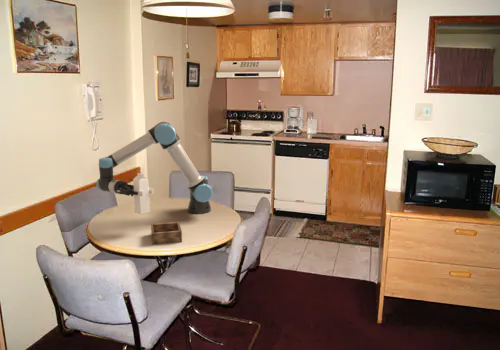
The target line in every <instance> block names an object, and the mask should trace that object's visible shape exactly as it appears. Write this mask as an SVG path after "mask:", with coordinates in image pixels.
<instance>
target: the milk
mask: <svg viewBox="0 0 500 350" xmlns="http://www.w3.org/2000/svg"><path fill="white" fill-rule="evenodd" d="M132 181H133V184H132V185H133V186H134V190H138V191H143V197H142V196H136V195H133V198H134V199H133V201H134V202H133V203H134V213H137V214H139V215H144V214H147V213H150V212H151V208H150V207H151V206H150V205H151V204H150V193H149V188H150V186H149V178H147V177H145V176H144V173H140V172H137V175H136V176H135V177H134V178H133V179H132Z"/></svg>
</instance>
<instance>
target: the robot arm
mask: <svg viewBox="0 0 500 350" xmlns="http://www.w3.org/2000/svg"><path fill="white" fill-rule="evenodd" d="M175 129H176V128H174V127H173V125H172V124H170V123H169V122H166V121H160V122H159V123H157V124H156V125H154V126H153V127H151V128H150V129H149V130H147V132H146V133H145V134H143V135H141V136H140V137H138V138H136V139H135V140H133V141H131V142H130V143H128V144H125V146H122V147H121V148H120V149H118V150H117V151H115V152H113V153H111V154H109V155H108V156H105V157H101V158H99V159H98V169H99V170H98V171H99V178H98V179H97V181H96V182H95V183H96V184H95V185H96V188H97V189H98V190H100V191H103V192H109V193H113V194H115V195H118V194H119V195H125V196H128V197H129V196H131V197H134V195H136V196H142V197H143V191H138V190H134V186H133V184H128V183H127V182H126V180H125V181H124V180H120V179H115V178H114V169H115V167H117V166H119V165H120V164H122V163H123V162H125V161H127V160H129V159H131V158H132V157H134V156H136V155H137V154H138V153H141V152H143V150H146V149H148V148H149V147H151V146H152V145H155V144H156V145H158V144H159V145H160V146H161V148H162V149H163V150H164V151H167V153H168V154H169V156H170V157H171V159H172V160H173V162H174V163H175V165H176V166H177V168H178V169H179V171H180V172H181V174H182V176H183V177H184V178H185V180H186V182H187V188H188V189H189V203H188V206H187V212H188V213H190V214H196V215H197V214H207V213H210V212H211V211H212V206H211V203H210V200H211V199H212V197H213V193H214V191H213V188H212V186H210V184H209V178H208V176H206V175H201V174H200V173H199V171H198V170H197V168H196V166H195V165H194V164H193V162H192V160H191V159H190V157H189V156H188V154H187V152H186V151H185V149H184V148H183V146H182V144H181V142H180V141H181V138H180V136H179V135H178V133H177V131H176V130H175ZM149 194H154V188H153V187H152V188H151V187H149Z"/></svg>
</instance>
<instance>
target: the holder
mask: <svg viewBox="0 0 500 350" xmlns="http://www.w3.org/2000/svg"><path fill="white" fill-rule="evenodd" d="M150 228H151V229H150V234H151V235H150V236H151V244H152V245H162V244H175V243H182V242H183V238H182V237H183V233H182V232H183V231H182V227H181V223H180V221H176V222H162V223H151V224H150Z"/></svg>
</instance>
